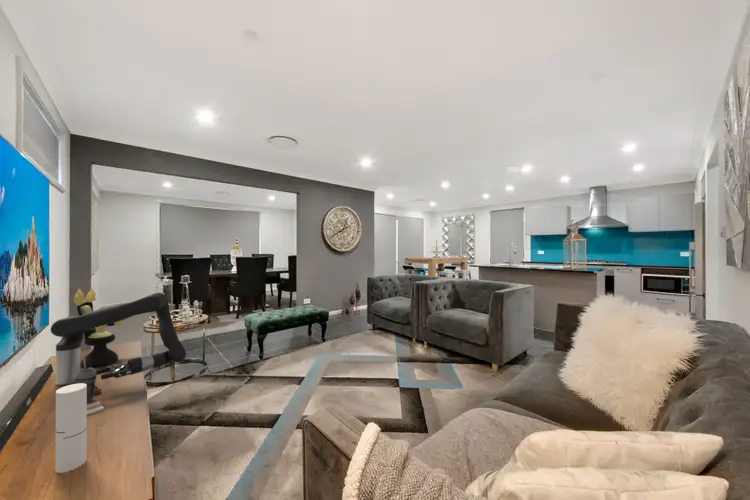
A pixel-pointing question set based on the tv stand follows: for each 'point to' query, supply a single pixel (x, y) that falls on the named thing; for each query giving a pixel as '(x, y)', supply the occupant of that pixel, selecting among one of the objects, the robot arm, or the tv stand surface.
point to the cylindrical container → (71, 427)
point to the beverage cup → (87, 380)
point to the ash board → (94, 408)
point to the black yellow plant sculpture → (95, 333)
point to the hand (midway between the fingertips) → (98, 374)
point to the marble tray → (97, 389)
